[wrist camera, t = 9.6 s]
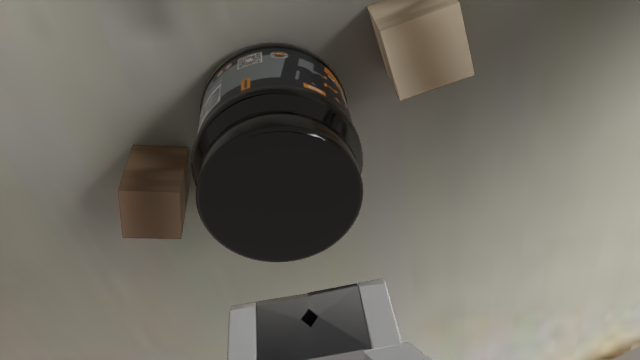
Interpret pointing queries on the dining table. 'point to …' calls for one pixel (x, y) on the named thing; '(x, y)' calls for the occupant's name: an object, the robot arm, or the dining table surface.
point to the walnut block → (154, 192)
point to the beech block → (421, 43)
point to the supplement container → (276, 155)
